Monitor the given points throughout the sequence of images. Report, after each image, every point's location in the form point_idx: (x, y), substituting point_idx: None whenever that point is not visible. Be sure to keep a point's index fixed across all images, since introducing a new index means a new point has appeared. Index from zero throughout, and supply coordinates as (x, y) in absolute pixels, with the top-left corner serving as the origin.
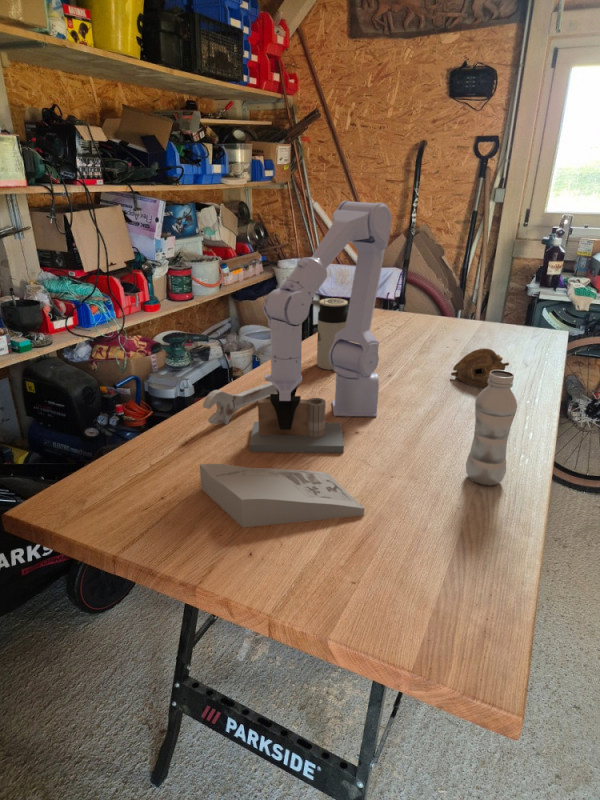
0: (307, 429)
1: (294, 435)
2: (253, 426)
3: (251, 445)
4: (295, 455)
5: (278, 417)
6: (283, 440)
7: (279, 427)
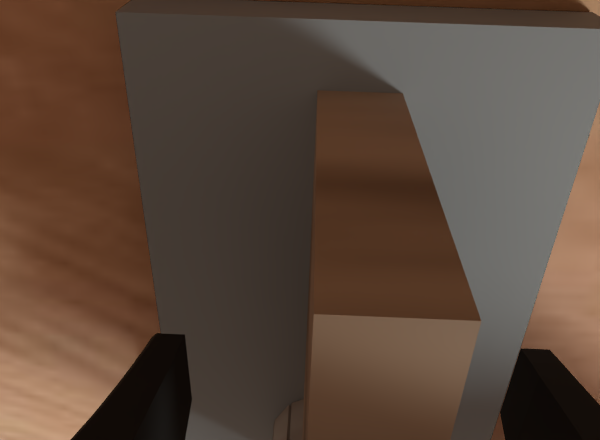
0: (301, 437)
1: (306, 335)
2: (508, 30)
3: (119, 29)
4: (134, 299)
5: (81, 435)
6: (225, 272)
7: (148, 342)
